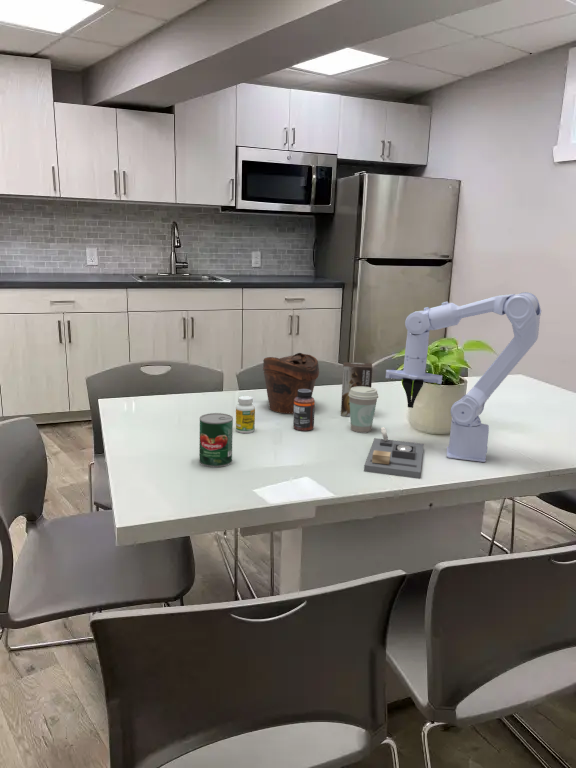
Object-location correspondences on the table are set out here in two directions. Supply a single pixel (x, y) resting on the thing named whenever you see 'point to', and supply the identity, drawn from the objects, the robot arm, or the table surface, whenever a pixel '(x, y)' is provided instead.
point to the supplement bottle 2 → (304, 410)
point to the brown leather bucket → (288, 379)
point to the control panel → (396, 458)
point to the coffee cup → (362, 408)
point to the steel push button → (404, 448)
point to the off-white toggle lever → (384, 433)
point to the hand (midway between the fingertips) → (410, 406)
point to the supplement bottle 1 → (245, 415)
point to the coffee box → (354, 381)
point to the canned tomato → (215, 439)
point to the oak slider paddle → (381, 457)
